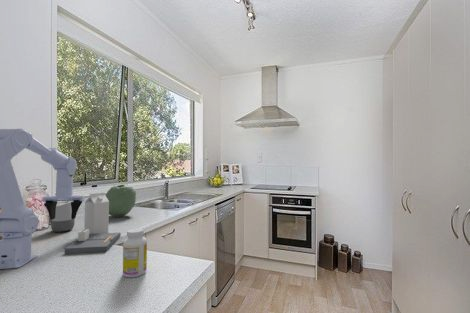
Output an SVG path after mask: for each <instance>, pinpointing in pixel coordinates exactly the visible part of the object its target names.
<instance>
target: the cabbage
mask: <svg viewBox="0 0 470 313" xmlns="http://www.w3.org/2000/svg"><path fill="white" fill-rule="evenodd" d="M105 196H106V197H107V199H108V200H109V216H111V217H114V218H122V217H124V216H126V215H128V214H130V212H131V211H132V209H133V208H134V207H135V205H136V199H137V191H136V190H135V189H134V188H133V187H132V186H131V185H129V184H128V183H124V184H120V185H113V186H111V187H110V188H109V189H108V190H107V192H106V193H105Z"/></svg>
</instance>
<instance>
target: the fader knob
mask: <svg viewBox="0 0 470 313" xmlns="http://www.w3.org/2000/svg"><path fill="white" fill-rule="evenodd" d="M88 238H89V229H84V228H83V229H81V230H79V231H78V232H77V239H78V241H85V240H87V239H88Z"/></svg>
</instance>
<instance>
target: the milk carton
mask: <svg viewBox="0 0 470 313" xmlns="http://www.w3.org/2000/svg"><path fill="white" fill-rule="evenodd" d="M105 195H106V192H104V191H103V192H97V193H89V197H88V198H87V199H86V200H85V201H84V227H83V229H89V234H97V233H109V216H110V215H109V200H108V199H107V197H106V196H105Z"/></svg>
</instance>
